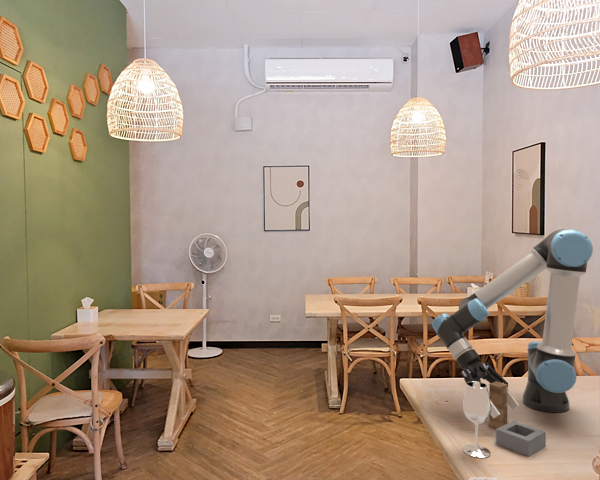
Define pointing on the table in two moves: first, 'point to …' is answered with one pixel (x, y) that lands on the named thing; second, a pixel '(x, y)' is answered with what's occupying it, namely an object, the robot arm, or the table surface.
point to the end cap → (521, 438)
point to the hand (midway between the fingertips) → (506, 411)
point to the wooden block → (498, 403)
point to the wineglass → (476, 414)
